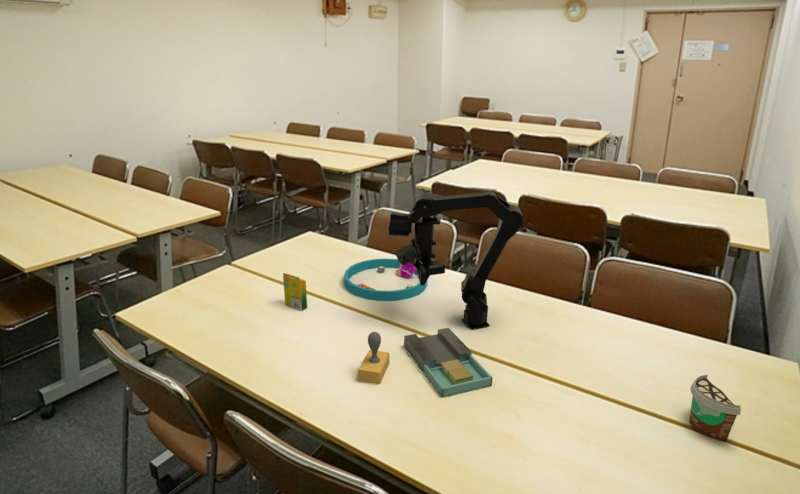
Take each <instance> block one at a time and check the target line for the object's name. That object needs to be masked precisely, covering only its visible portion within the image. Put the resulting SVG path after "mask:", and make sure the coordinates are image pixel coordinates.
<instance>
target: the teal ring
mask: <svg viewBox="0 0 800 494" xmlns="http://www.w3.org/2000/svg"><path fill="white" fill-rule="evenodd" d="M372 269H377V271H378V272H379V273H384V272H385V271H386V270H385V269H396V270H395V271H394V272H395V275H396V276H399V277H402V278H410V277H412V275H414V274H415V275H417V276H418V274H417V270H416V267H415V266H414V265H413V264H412V263H407V264H406V265H402V264H401V263H400V262H399V261H398V259H397V258H373V259H367V260H362V261H359V262H355V264H352V265H350V266H349V267H348V268H347V269H345V272H344V275H343V279H344V281H343V282H344V283H343V284H344V287H345V289H346V290H347V291H348V292H349V293H350V294H352V295H353V296H355V297H357V298H361V299H365V300H369V301H375V302H397V301H398V302H399V301H403V300H408V299H412V298H414V297H417V296H420V294H422V293H423V292H425V290H426V289H427V287H428V280H427V281H426V283H425V285H422V286H421V285H420V282H419V283H417V284H415V285H414V284H411V283H408V284H406V285H405V286H404V287H407V288H401V289H394V290H393V289H392V290H378V289H376V288H374V287H373V288H372V287H371V286H367V284H366V283H363V282H362V283H353V282H352V280H351V278H352V277H353V276H354V275H357V274H358V273H361V272H364V271H368V270H372Z"/></svg>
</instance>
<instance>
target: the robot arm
mask: <svg viewBox="0 0 800 494" xmlns="http://www.w3.org/2000/svg"><path fill="white" fill-rule="evenodd" d="M483 208H487V209H488V210H490V211H491V212H492V213H493V214H494V215H495V216H496V217H497V218H498V223H497V227H496V231H495V233H494V235H493V237H492V239H491V241H490V243H489V244H488V247H487V248H486V250H485V252H484V254H483V256H482V258H481V259H480V261H479V263H478V265H477V266H476V269H475V270H474V271H473V272H472V273H471V274H470V273H469V272H466V274H465V277H464V278H463V280H462V281H461V283H460V284H461V285H460V286H461V287H460V292H461V299H462V301H463V302H464V303H465V308H464V310H463V317H462V319H461V321H462V322H463V324H465V325H466V326H467V327H468V328H469V329H470V330H477V329H481V328H487V327H490V323H488V311H489V305H488V298H487V293H485V292H484V290H485V285H486V282H487V279H488V277H489V276H490V273H491V272H492V270H493V269H494V267H495V265H496V263H497V261H498V259H499V257H500V256H501V254H502V252H503V250H504V248H505V247H506V246H507V243H508V242H509V240H510V239H512V237H514V236H515V235H516V234H517V233H518V232H519V230H520V229H521V228H522V227H523V226H524V225H523V224H524V222H525V219H524V216H523V214H522V211H521V209H520V208H519V207H518V206H517V205H514V204H513V205H512V204H510V203H508V201H505V200H504V198H503V199H502V198H501V197H500V196H499V195H497V194H496V193H495V192H494V191H491V190H487V191H483V192H474V193H473V192H472V193H463V194H454V195H453V194H452V195H441V194H437V193H421V194H419V196H417V198H416V201H415V203H414V206H413V207H412V209H410V211H409V213H398V212H391V213H390V218H389V225H388V235H389V236H390V237H391V236H392V237H409V236H410V234H412V233H414V238H413V237H412V238H411V240H410V244H406V245H405V246H402V247H400V248H398V249H397V250H395V251H394V254H395V256H396V259H398V261H399V262H400V263H401V264H402V265H406V264H407V263H412V264H413V265H414V266H415V267H416V270H417V274H418V275H417V274H416V275H417V277H418V280H419V281H418V282H419V283H420V285H421V286H422V285H425V283H426V281H427V282H428V279H429V278H430V276H434V275H443V274H445V273H446V265H444V264H443V262H441V261H439V260H438V259H436V253H434V246H436V245H437V241H436V240H435V238H434V236H435V235H434V232H435V225H441V220H442V219H441V218H440V217H438V216H439V215H440V214H442V213H446V212H451V211H460V210H462V211H463V210H473V209H483ZM437 215H438V216H437ZM413 225H414V226H413ZM413 229H414V232H413ZM434 259H435V260H434Z"/></svg>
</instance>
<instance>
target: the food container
mask: <svg viewBox="0 0 800 494" xmlns="http://www.w3.org/2000/svg"><path fill="white" fill-rule="evenodd" d="M708 376H709V375H708V374H702V375H699V376H698V377H696V378H695V380H694V381H693V382H692V384H691V386H690V393H691V395H692V398H691V405H690V413H689V419H688V420H689V421H688V422H689V423H690V425H691V426H692V428H693V429H694V430H696V431H697V432H698V433H700V434H701V435H703V436H705V437H708V438H710V439H714V440H719V441H727V440H728V438H729V435H730V434H731V433H730V432H731V431H732V428H733V426H734V424H735V421H736V418H737V416H740V415H741V410H742V409H741V405H740V404H734V403H733V402H732V400H730V399H729V397H728V396H727V395H726V394H725V393H724V391H722V390H721V389H720V388H718V387H717V386H716V385H714V384H713V383H712V382H711V380H709V379H708Z"/></svg>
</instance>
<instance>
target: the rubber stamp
mask: <svg viewBox="0 0 800 494" xmlns="http://www.w3.org/2000/svg"><path fill="white" fill-rule="evenodd" d="M367 344H368V346H369V348H370V349H369V350H368V351H367V353H366V355H365V356H364V359H362V362H361V364H360V366H359V368H358V372H357V373H358V382H359V381H361V382H360V383H366V382H367V383H366V384H372V383H373V385H380V384H381V382H382V380H383V379H384V376H385V373H386V372H387V369H388V368H389V365H390V352H389V351H383V350H379V349H380V346H381V344H382V336H381V334H380V333H379V332H377V331H372V332H370V333H369V334H368V336H367Z"/></svg>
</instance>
